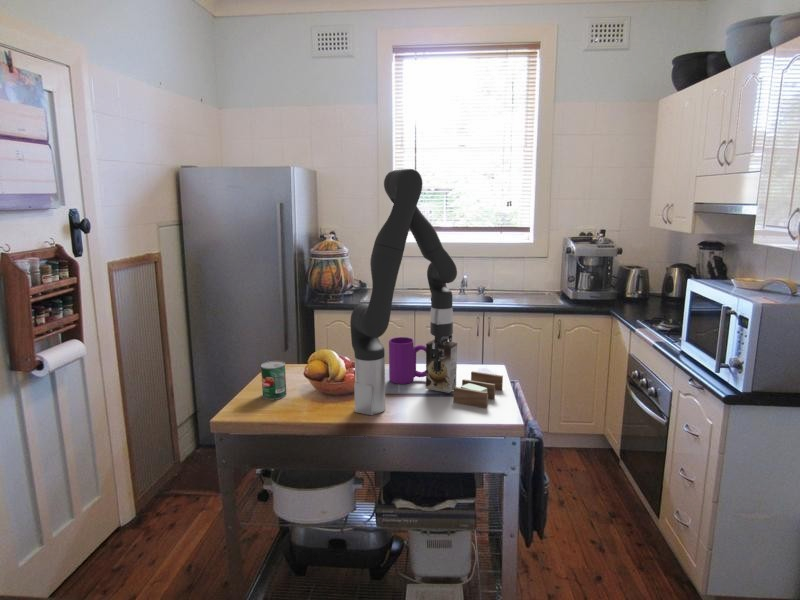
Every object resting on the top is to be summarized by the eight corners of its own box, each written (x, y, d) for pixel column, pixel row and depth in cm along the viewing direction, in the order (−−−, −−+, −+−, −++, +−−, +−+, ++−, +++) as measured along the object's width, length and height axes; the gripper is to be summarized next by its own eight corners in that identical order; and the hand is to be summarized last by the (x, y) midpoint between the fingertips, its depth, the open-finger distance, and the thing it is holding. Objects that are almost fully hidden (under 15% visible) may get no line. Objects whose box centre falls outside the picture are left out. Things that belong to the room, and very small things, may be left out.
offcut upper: (478, 399, 167) (478, 391, 166) (460, 393, 172) (460, 386, 171) (487, 395, 170) (487, 388, 169) (469, 390, 175) (469, 382, 174)
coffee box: (425, 389, 179) (425, 343, 176) (432, 383, 184) (432, 338, 181) (450, 393, 175) (450, 346, 171) (457, 387, 180) (457, 341, 177)
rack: (486, 408, 164) (486, 393, 163) (453, 402, 169) (453, 387, 168) (502, 389, 180) (502, 375, 179) (471, 384, 185) (472, 371, 184)
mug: (389, 376, 195) (389, 337, 192) (431, 375, 195) (431, 336, 192) (388, 384, 186) (388, 344, 183) (432, 384, 186) (432, 343, 183)
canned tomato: (258, 398, 174) (255, 366, 172) (270, 390, 182) (268, 359, 180) (279, 401, 172) (277, 369, 170) (291, 392, 179) (289, 361, 177)
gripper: (439, 315, 183) (439, 360, 186) (422, 323, 170) (422, 372, 173) (459, 317, 179) (459, 363, 183) (444, 326, 167) (443, 376, 170)
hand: (441, 367), depth 178 cm, fingers open, 6 cm apart
